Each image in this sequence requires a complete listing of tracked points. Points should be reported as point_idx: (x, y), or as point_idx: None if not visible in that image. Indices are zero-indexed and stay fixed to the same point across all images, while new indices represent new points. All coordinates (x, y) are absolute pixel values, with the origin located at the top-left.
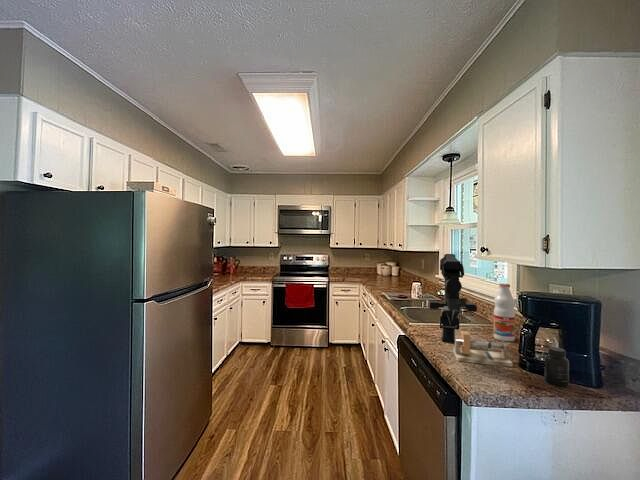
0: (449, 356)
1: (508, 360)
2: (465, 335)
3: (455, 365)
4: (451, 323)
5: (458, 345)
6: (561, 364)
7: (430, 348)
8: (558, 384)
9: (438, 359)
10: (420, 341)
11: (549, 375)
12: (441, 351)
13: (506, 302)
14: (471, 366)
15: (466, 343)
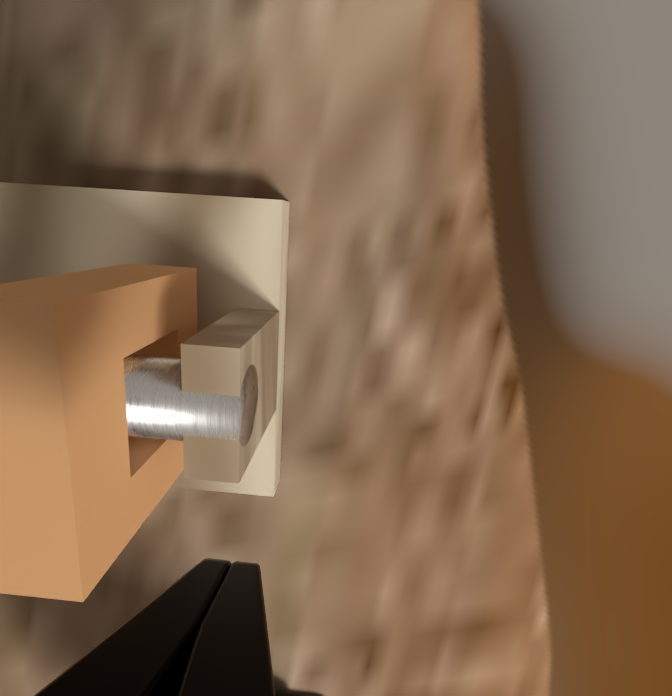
0: (345, 326)
1: None
2: (27, 299)
3: (338, 53)
4: (227, 610)
5: (226, 331)
6: None
7: (489, 517)
8: None
9: (484, 204)
10: (540, 686)
11: None
12: (396, 454)
13: None
14: (175, 70)
15: (102, 280)
